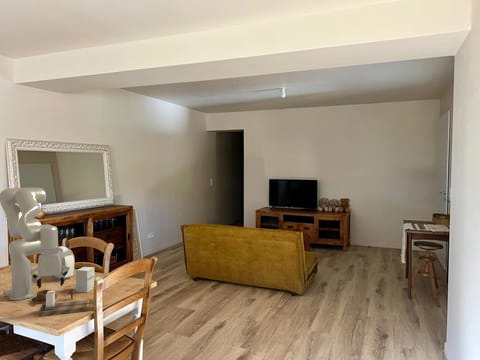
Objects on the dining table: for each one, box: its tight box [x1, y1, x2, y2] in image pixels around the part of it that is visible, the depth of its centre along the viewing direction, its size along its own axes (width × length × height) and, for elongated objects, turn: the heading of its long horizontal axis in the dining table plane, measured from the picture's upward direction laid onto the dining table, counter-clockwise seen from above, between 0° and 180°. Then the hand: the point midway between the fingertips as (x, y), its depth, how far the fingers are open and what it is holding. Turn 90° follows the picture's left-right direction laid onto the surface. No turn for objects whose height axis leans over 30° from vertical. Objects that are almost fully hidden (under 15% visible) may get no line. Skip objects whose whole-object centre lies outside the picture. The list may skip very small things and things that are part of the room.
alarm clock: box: [52, 245, 75, 281], centre depth 223 cm, size 18×8×20 cm, turn 59°
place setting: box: [27, 288, 75, 307], centre depth 186 cm, size 18×20×6 cm
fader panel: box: [38, 298, 95, 318], centre depth 175 cm, size 26×10×4 cm, turn 108°
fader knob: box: [45, 290, 58, 310], centre depth 172 cm, size 4×7×7 cm, turn 18°
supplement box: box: [75, 266, 96, 294], centre depth 201 cm, size 7×7×13 cm
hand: (50, 286), depth 171 cm, fingers open, 9 cm apart
